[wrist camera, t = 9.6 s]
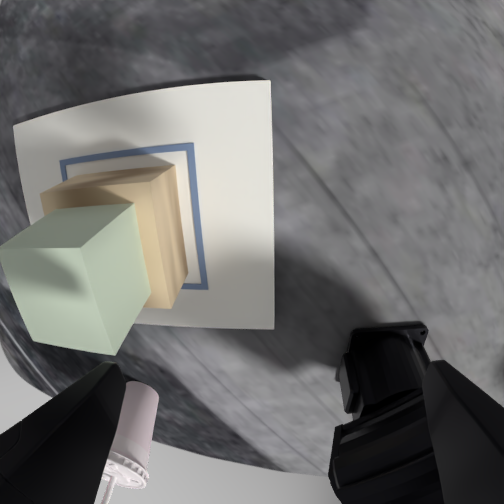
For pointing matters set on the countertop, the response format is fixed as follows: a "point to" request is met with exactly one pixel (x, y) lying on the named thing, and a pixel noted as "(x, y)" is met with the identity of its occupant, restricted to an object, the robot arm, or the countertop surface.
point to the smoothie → (132, 439)
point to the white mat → (180, 185)
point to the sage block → (79, 276)
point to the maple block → (148, 217)
